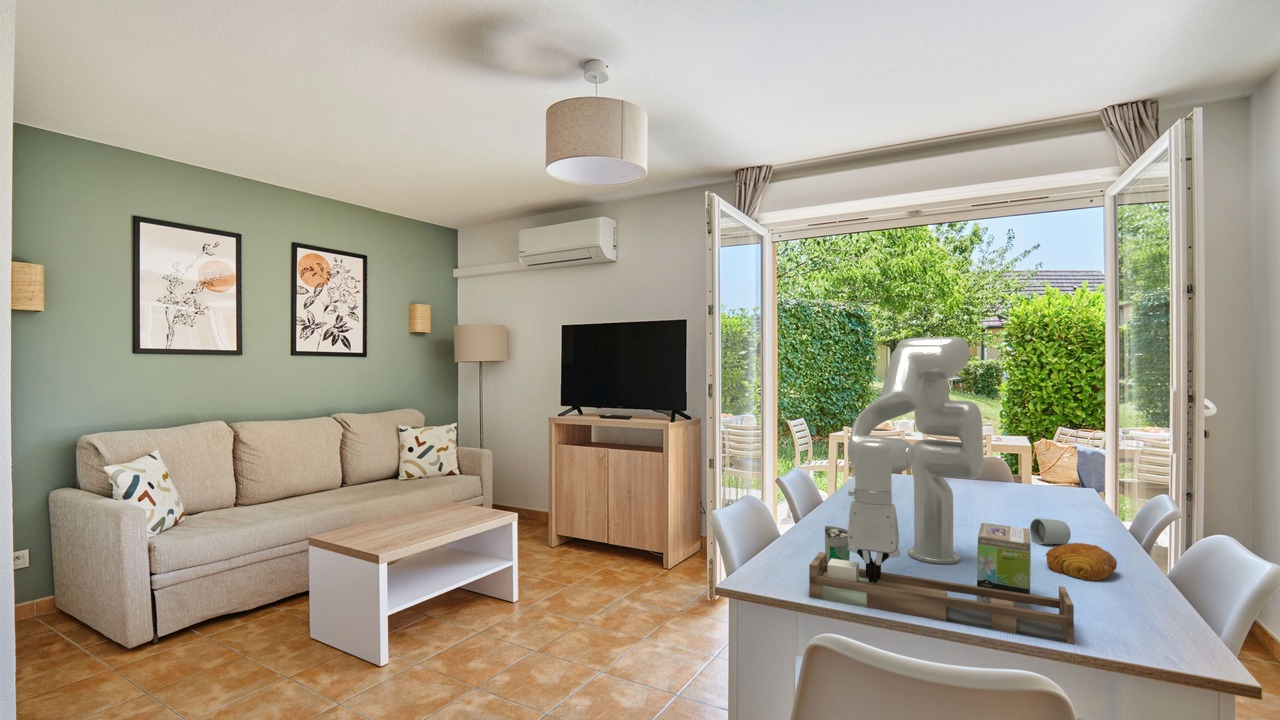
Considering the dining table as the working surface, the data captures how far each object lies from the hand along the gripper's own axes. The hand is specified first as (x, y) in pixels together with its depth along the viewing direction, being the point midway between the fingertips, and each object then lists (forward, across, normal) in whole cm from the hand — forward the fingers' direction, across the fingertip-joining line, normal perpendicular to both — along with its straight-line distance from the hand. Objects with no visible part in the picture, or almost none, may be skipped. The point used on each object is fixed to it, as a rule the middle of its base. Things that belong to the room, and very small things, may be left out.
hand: (873, 580), depth 133 cm
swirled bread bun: (+4, +43, +46) cm, 63 cm away
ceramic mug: (+4, +38, +73) cm, 82 cm away
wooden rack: (+4, +11, 0) cm, 12 cm away
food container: (+4, -10, +15) cm, 18 cm away
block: (+1, -6, -1) cm, 6 cm away
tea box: (+4, +25, +15) cm, 30 cm away
